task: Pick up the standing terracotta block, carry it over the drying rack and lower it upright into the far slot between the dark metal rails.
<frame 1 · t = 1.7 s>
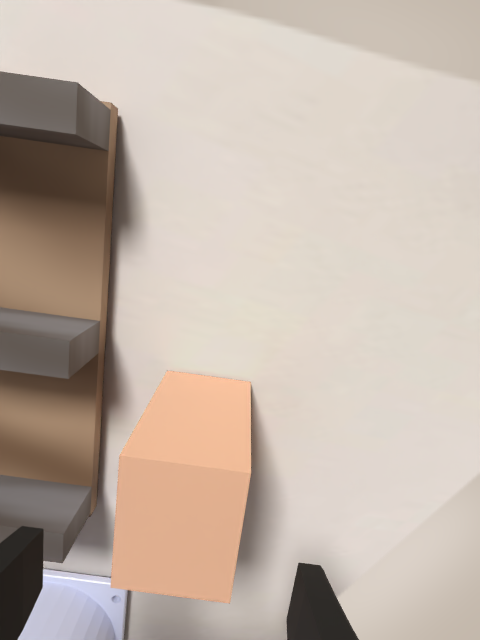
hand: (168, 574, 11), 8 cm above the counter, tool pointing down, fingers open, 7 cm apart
block: (203, 423, 19), on the counter
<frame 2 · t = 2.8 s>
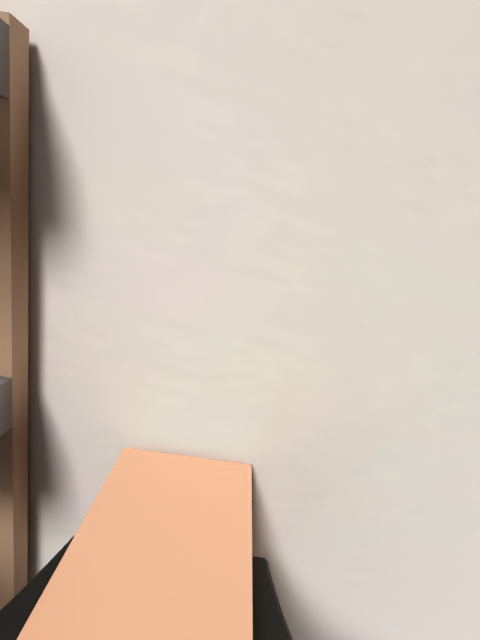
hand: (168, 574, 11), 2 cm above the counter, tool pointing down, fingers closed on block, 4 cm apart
block: (180, 522, 13), on the counter, touching gripper
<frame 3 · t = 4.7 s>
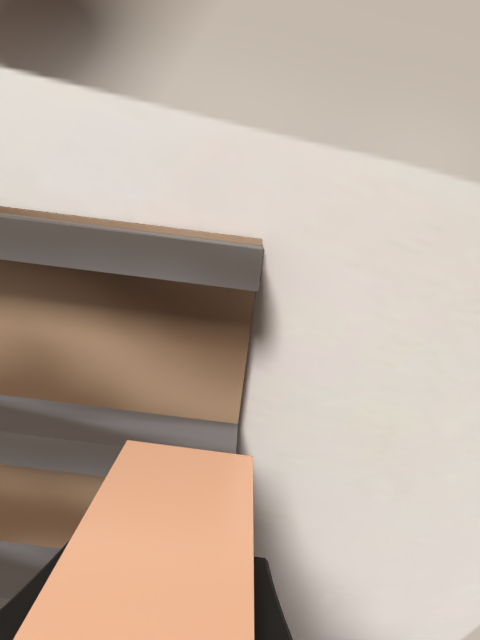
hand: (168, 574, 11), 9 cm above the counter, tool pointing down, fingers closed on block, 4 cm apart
rack: (79, 410, 20), on the counter
block: (182, 514, 13), point 7 cm above the counter, touching gripper
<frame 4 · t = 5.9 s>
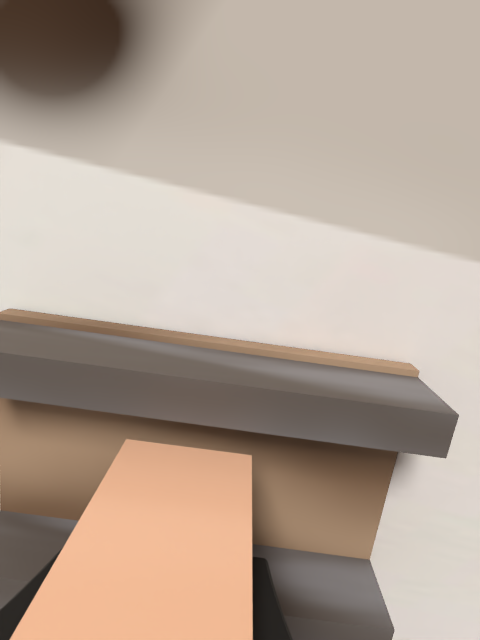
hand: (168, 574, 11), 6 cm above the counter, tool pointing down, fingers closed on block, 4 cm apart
rack: (186, 535, 18), on the counter
block: (181, 513, 13), point 4 cm above the counter, touching gripper
when the fingers open (4 cm above the counter, at t = 6.8 s): block stays where it is, resting on rack.
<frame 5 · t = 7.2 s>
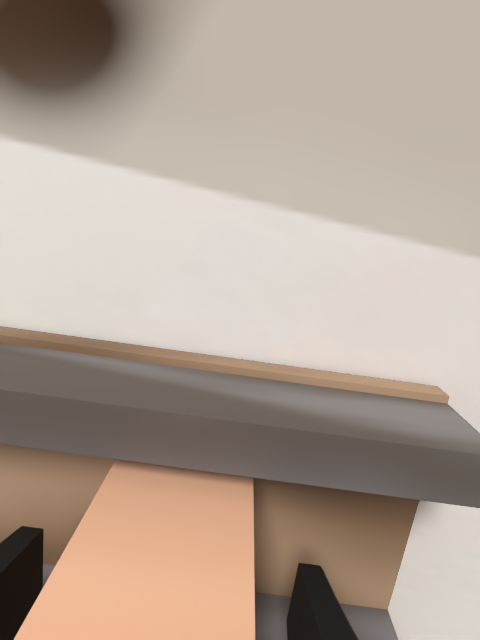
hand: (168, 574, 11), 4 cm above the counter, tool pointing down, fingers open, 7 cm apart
rack: (177, 578, 15), on the counter
block: (185, 498, 14), point 1 cm above the counter, touching rack
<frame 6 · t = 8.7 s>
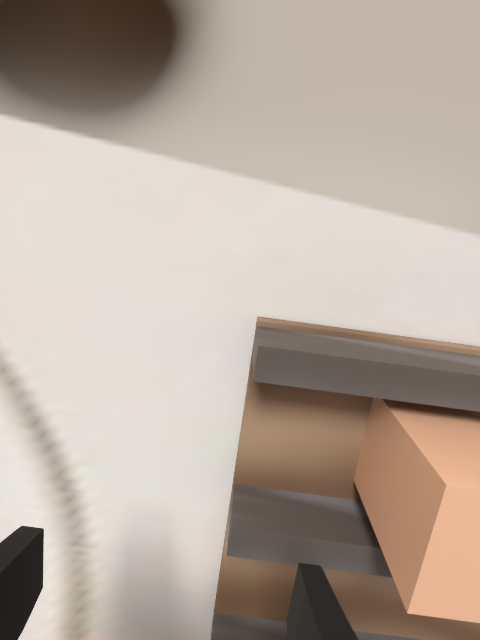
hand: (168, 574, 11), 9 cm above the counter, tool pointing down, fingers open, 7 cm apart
rack: (378, 505, 21), on the counter
block: (403, 441, 19), point 1 cm above the counter, touching rack
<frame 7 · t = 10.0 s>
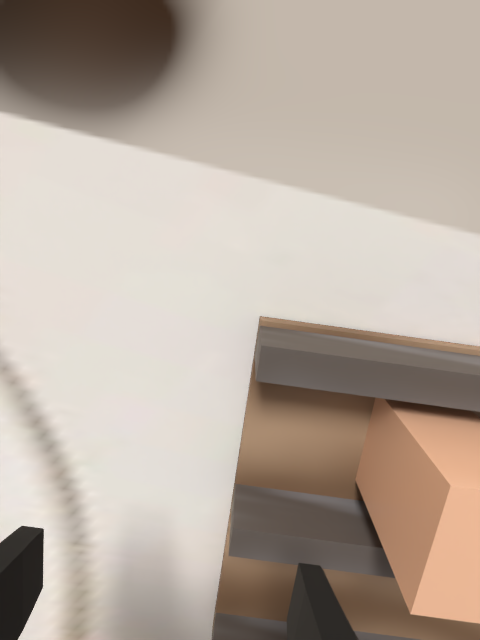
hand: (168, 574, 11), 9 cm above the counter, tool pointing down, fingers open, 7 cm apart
rack: (380, 505, 21), on the counter
block: (406, 441, 19), point 1 cm above the counter, touching rack
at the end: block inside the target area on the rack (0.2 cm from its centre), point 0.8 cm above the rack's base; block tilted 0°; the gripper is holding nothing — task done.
